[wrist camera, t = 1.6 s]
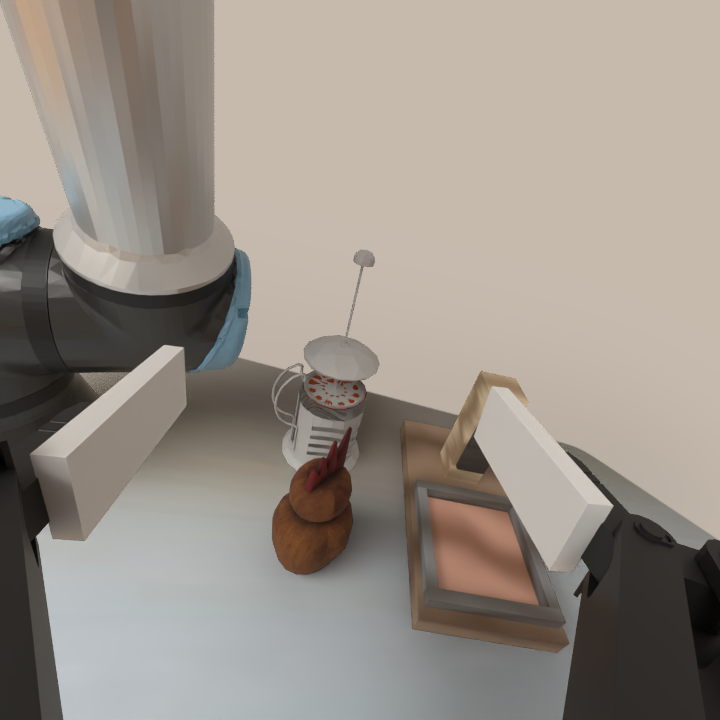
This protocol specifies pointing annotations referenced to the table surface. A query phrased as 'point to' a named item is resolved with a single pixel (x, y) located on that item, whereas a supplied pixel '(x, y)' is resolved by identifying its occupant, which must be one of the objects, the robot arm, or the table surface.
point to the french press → (329, 393)
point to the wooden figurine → (315, 513)
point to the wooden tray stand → (472, 538)
